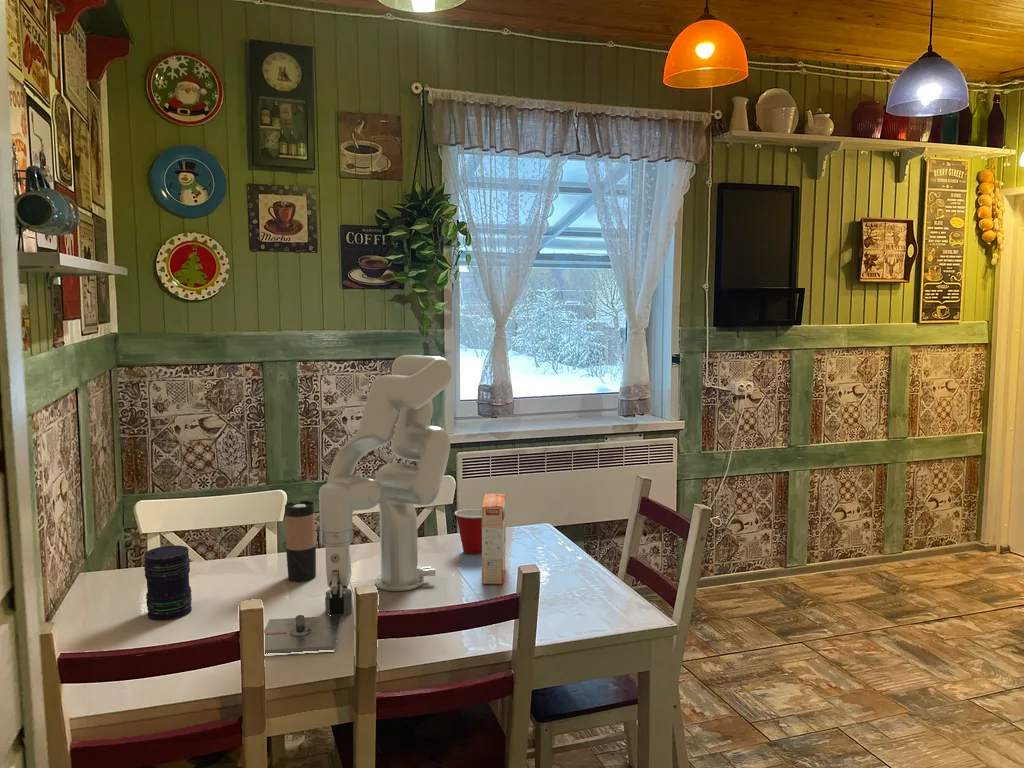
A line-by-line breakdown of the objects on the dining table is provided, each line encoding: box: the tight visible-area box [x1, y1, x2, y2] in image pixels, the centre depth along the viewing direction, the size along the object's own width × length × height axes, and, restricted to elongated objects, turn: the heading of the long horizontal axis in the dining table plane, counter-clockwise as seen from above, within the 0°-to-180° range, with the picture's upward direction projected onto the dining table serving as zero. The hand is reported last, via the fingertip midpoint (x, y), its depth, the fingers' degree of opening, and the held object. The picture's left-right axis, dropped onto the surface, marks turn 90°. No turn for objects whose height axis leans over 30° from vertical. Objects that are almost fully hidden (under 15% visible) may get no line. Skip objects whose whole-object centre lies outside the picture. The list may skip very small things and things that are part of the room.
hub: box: [264, 614, 342, 654], centre depth 174 cm, size 16×16×5 cm
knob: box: [324, 587, 353, 617], centre depth 188 cm, size 6×6×5 cm
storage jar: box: [143, 545, 193, 622], centre depth 188 cm, size 10×10×15 cm
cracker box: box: [481, 493, 507, 585], centre depth 211 cm, size 14×6×21 cm, turn 178°
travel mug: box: [284, 500, 317, 583], centre depth 211 cm, size 8×8×20 cm
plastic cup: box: [454, 508, 482, 555], centre depth 232 cm, size 11×11×12 cm
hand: (338, 605), depth 189 cm, fingers open, 9 cm apart
